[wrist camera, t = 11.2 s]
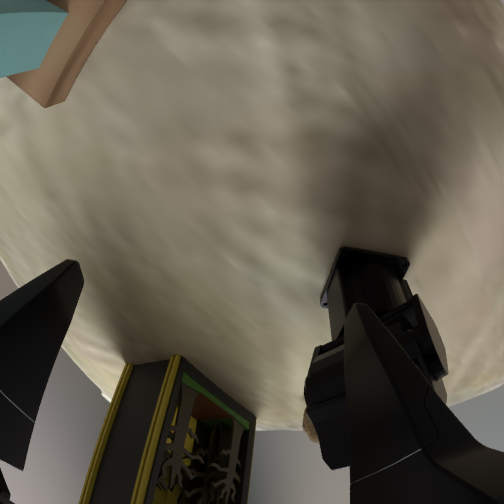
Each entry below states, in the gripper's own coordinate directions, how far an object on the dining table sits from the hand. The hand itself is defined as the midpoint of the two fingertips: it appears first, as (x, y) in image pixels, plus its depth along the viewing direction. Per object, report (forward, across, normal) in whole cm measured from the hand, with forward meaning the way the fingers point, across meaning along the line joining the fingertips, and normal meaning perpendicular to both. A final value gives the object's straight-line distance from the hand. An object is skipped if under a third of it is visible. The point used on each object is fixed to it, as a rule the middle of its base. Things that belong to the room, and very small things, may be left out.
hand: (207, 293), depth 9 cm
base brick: (+13, +16, -10) cm, 23 cm away
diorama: (+13, +4, +36) cm, 39 cm away
